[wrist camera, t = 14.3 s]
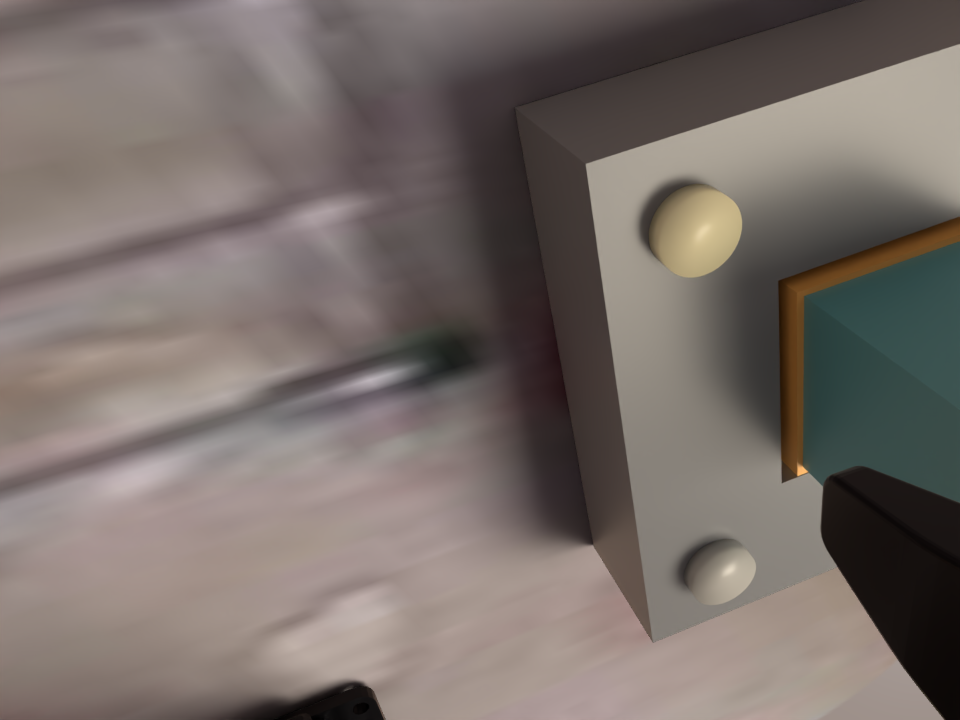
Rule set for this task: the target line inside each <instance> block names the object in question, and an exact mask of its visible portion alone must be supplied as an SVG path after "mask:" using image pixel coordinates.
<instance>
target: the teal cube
mask: <svg viewBox="0 0 960 720" xmlns="http://www.w3.org/2000/svg"><path fill="white" fill-rule="evenodd" d="M854 466H865V467H869V468H871V469H874V470H877V471H879V472H882V473H884V474H887V475H890V476H892V477H895V478H897V479H900V480H903V481H905V482H908V483H910V484H913V485H916V486H918V487H921V488H923V489H926V490H929V491H931V492H934V493H936V494H939V495H941V496H944V497H947V498H949V499H952V500H954V501H957V502H960V241H959V242H956V243H953V244H950V245H947V246H944V247H942V248H939V249H936V250H933V251H930V252H927V253H925V254H922V255H919V256H916V257H913V258H910V259H908V260H905V261H902V262H899V263H896V264H893V265H891V266H888V267H885V268H882V269H879V270H877V271H874V272H871V273H868V274H865V275H862V276H860V277H857V278H854V279H851V280H848V281H845V282H843V283H840V284H837V285H834V286H831V287H828V288H826V289H823V290H820V291H817V292H814V293H811V294H809V295H806V296H804V378H803V467H804V468H805V469H806V470H807V471H808V472H809V473H810V474H811V475H812V476H813V477H814V478H815V479H816V480H817V481H818V482H819V483H820V484H821V485H822V486H823V483H824V481H825V480H826V478H827V477H828V476H829V475H831V474H834V473H837V472H840V471H842V470H845V469H848V468H851V467H854Z"/></svg>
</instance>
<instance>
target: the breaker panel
mask: <svg viewBox="0 0 960 720" xmlns="http://www.w3.org/2000/svg"><path fill="white" fill-rule="evenodd" d="M515 112H516V118H517V124H518V129H519V135H520V140H521V146H522V151H523V157H524V162H525V168H526V173H527V179H528V185H529V190H530V196H531V201H532V207H533V212H534V218H535V223H536V229H537V235H538V240H539V246H540V251H541V257H542V262H543V268H544V273H545V279H546V285H547V290H548V296H549V301H550V307H551V312H552V318H553V323H554V329H555V334H556V340H557V346H558V351H559V357H560V362H561V368H562V373H563V379H564V384H565V390H566V396H567V401H568V407H569V412H570V418H571V423H572V429H573V434H574V440H575V446H576V451H577V457H578V462H579V468H580V473H581V479H582V484H583V490H584V495H585V501H586V507H587V512H588V518H589V523H590V529H591V534H592V540H593V545H594V548H595V549H596V551H597V553H598V554H599V556H600V557H601V559H602V561H603V562H604V564H605V566H606V567H607V569H608V570H609V572H610V574H611V575H612V577H613V579H614V580H615V582H616V583H617V585H618V587H619V588H620V590H621V592H622V593H623V595H624V597H625V598H626V600H627V601H628V603H629V605H630V606H631V608H632V610H633V611H634V613H635V614H636V616H637V618H638V619H639V621H640V623H641V624H642V626H643V627H644V629H645V631H646V632H647V634H648V636H649V637H650V639H651V640H652V642H653V643H654V642H656V641H659V640H661V639H663V638H666V637H668V636H671V635H673V634H676V633H678V632H681V631H683V630H685V629H688V628H690V627H693V626H695V625H698V624H700V623H702V622H705V621H707V620H710V619H712V618H715V617H717V616H720V615H722V614H724V613H727V612H729V611H732V610H734V609H737V608H739V607H741V606H744V605H746V604H749V603H751V602H754V601H756V600H759V599H761V598H763V597H766V596H768V595H771V594H773V593H776V592H778V591H781V590H783V589H785V588H788V587H790V586H793V585H795V584H798V583H800V582H802V581H805V580H807V579H810V578H812V577H815V576H817V575H820V574H822V573H824V572H827V571H829V570H832V569H834V568H837V565H836V564H835V562H834V561H833V559H832V558H831V556H830V555H829V553H828V551H827V550H826V548H825V545H824V543H823V540H822V537H821V531H820V524H821V508H822V492H823V486H822V485H821V484H820V483H819V482H818V481H817V480H816V479H815V478H814V477H813V476H812V475H811V474H810V473H809V472H807V473H805V474H802V475H799V476H797V475H796V474H795V473H794V472H793V471H792V470H791V469H790V468H789V467H788V466H787V465H786V464H785V463H784V462H783V461H782V460H781V417H780V356H779V296H778V281H779V280H781V279H784V278H787V277H790V276H793V275H796V274H798V273H801V272H804V271H807V270H810V269H813V268H815V267H818V266H821V265H824V264H827V263H830V262H832V261H835V260H838V259H841V258H844V257H846V256H849V255H852V254H855V253H858V252H861V251H863V250H866V249H869V248H872V247H875V246H878V245H880V244H883V243H886V242H889V241H892V240H895V239H897V238H900V237H903V236H906V235H909V234H912V233H914V232H917V231H920V230H923V229H926V228H929V227H931V226H934V225H937V224H940V223H943V222H946V221H948V220H951V219H954V218H957V217H960V0H864V1H861V2H857V3H854V4H851V5H848V6H844V7H841V8H838V9H835V10H831V11H828V12H825V13H822V14H818V15H815V16H812V17H809V18H805V19H802V20H799V21H795V22H792V23H789V24H786V25H782V26H779V27H776V28H773V29H769V30H766V31H763V32H760V33H756V34H753V35H750V36H747V37H743V38H740V39H737V40H734V41H730V42H727V43H724V44H721V45H717V46H714V47H711V48H707V49H704V50H701V51H698V52H694V53H691V54H688V55H685V56H681V57H678V58H675V59H672V60H668V61H665V62H662V63H659V64H655V65H652V66H649V67H646V68H642V69H639V70H636V71H632V72H629V73H626V74H623V75H619V76H616V77H613V78H610V79H606V80H603V81H600V82H597V83H593V84H590V85H587V86H584V87H580V88H577V89H574V90H571V91H567V92H564V93H561V94H558V95H554V96H551V97H548V98H544V99H541V100H538V101H535V102H531V103H528V104H525V105H522V106H518V107H515Z"/></svg>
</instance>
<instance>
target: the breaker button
mask: <svg viewBox="0 0 960 720" xmlns="http://www.w3.org/2000/svg"><path fill="white" fill-rule="evenodd" d="M959 241H960V217H957V218H954V219H951V220H948V221H946V222H943V223H940V224H937V225H934V226H931V227H929V228H926V229H923V230H920V231H917V232H914V233H912V234H909V235H906V236H903V237H900V238H897V239H895V240H892V241H889V242H886V243H883V244H880V245H878V246H875V247H872V248H869V249H866V250H863V251H861V252H858V253H855V254H852V255H849V256H846V257H844V258H841V259H838V260H835V261H832V262H830V263H827V264H824V265H821V266H818V267H815V268H813V269H810V270H807V271H804V272H801V273H798V274H796V275H793V276H790V277H787V278H784V279H781V280H779V281H778V296H779V356H780V417H781V460H782V461H783V462H784V463H785V464H786V465H787V466H788V467H789V468H790V469H791V470H792V471H793V472H794V473H795V474H796V475H797V476H799V475H802V474H805V473H807V472H808V471H807V470H806V469H805V468H804V467H803V378H804V296H806V295H809V294H811V293H814V292H817V291H820V290H823V289H826V288H828V287H831V286H834V285H837V284H840V283H843V282H845V281H848V280H851V279H854V278H857V277H860V276H862V275H865V274H868V273H871V272H874V271H877V270H879V269H882V268H885V267H888V266H891V265H893V264H896V263H899V262H902V261H905V260H908V259H910V258H913V257H916V256H919V255H922V254H925V253H927V252H930V251H933V250H936V249H939V248H942V247H944V246H947V245H950V244H953V243H956V242H959Z"/></svg>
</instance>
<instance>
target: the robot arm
mask: <svg viewBox="0 0 960 720" xmlns="http://www.w3.org/2000/svg"><path fill="white" fill-rule="evenodd" d="M820 531H821V537H822V540H823V543H824V545H825V548H826V550H827V551H828V553H829V555H830V556H831V558H832V559H833V561H834V562H835V564H836V565H837V567H838V569H839V570H840V572H841V573H842V575H843V576H844V578H845V579H846V581H847V583H848V584H849V586H850V587H851V589H852V590H853V592H854V593H855V595H856V596H857V598H858V600H859V601H860V603H861V604H862V606H863V607H864V609H865V610H866V612H867V614H868V615H869V617H870V618H871V620H872V621H873V623H874V624H875V626H876V627H877V629H878V631H879V632H880V634H881V635H882V637H883V638H884V640H885V641H886V643H887V645H888V646H889V648H890V649H891V651H892V652H893V653H894V655H895V656H896V658H897V659H898V661H899V662H900V664H901V665H902V666H903V668H904V669H905V670H906V672H907V673H908V674H909V676H910V677H911V678H912V680H913V681H914V682H915V684H916V685H917V686H918V687H919V689H920V690H921V691H922V692H923V694H924V695H925V696H926V697H927V699H928V700H929V701H930V702H931V704H932V705H933V706H934V707H935V709H936V710H937V711H938V712H939V714H940V715H941V716H942V717H943V719H944V720H960V502H957V501H954V500H952V499H949V498H947V497H944V496H941V495H939V494H936V493H934V492H931V491H929V490H926V489H923V488H921V487H918V486H916V485H913V484H910V483H908V482H905V481H903V480H900V479H897V478H895V477H892V476H890V475H887V474H884V473H882V472H879V471H877V470H874V469H871V468H869V467H865V466H854V467H851V468H848V469H845V470H842V471H840V472H837V473H834V474H831V475H829V476H828V477H827V478H826V480H825V481H824V483H823V492H822V508H821V524H820ZM358 703H359V704H358ZM275 720H386V719H385V717H384V715H383V712H382V710H381V707H380V705H379V703H378V700H377V698H376V696H375V693H374V691H373V690H372V689H371V688H369V687H364V686H360V687H356V688H353V689H350V690H348V691H345V692H343V693H340V694H338V695H335V696H333V697H330V698H327V699H325V700H322V701H320V702H317V703H315V704H312V705H310V706H307V707H305V708H302V709H300V710H297V711H295V712H292V713H290V714H287V715H285V716H282V717H280V718H277V719H275Z"/></svg>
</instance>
